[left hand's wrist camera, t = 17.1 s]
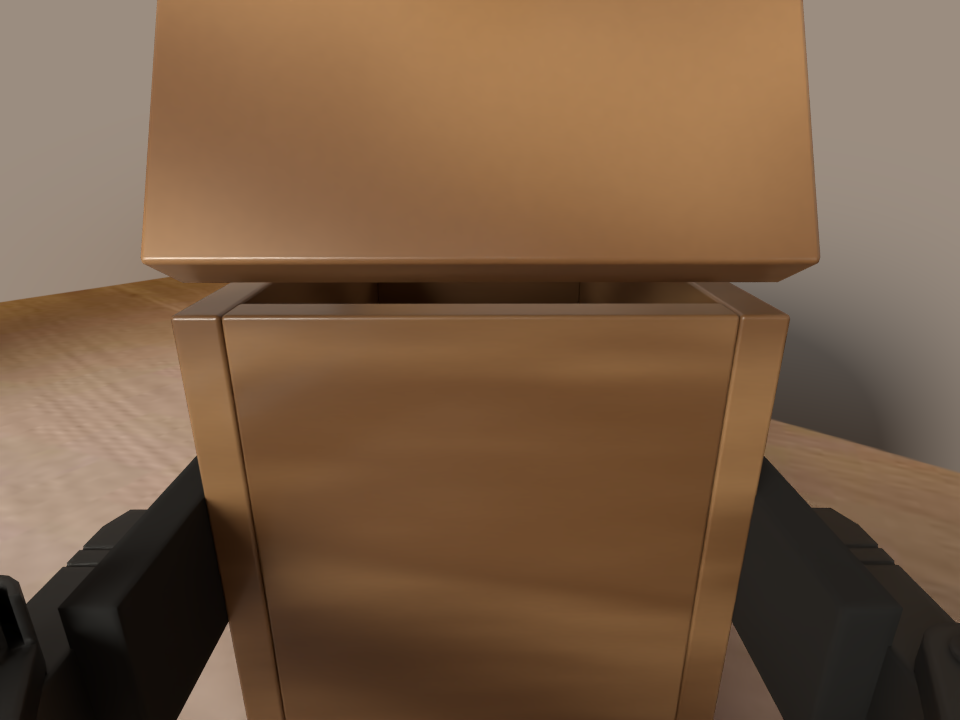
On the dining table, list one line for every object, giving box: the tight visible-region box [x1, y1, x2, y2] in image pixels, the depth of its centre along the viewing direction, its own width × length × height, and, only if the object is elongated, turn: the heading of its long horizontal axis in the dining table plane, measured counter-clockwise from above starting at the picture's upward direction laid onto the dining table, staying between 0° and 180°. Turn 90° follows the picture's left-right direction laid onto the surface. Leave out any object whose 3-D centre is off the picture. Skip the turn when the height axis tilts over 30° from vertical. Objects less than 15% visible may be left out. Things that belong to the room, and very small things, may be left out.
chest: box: [171, 282, 790, 720], centre depth 17 cm, size 14×9×10 cm, turn 0°
